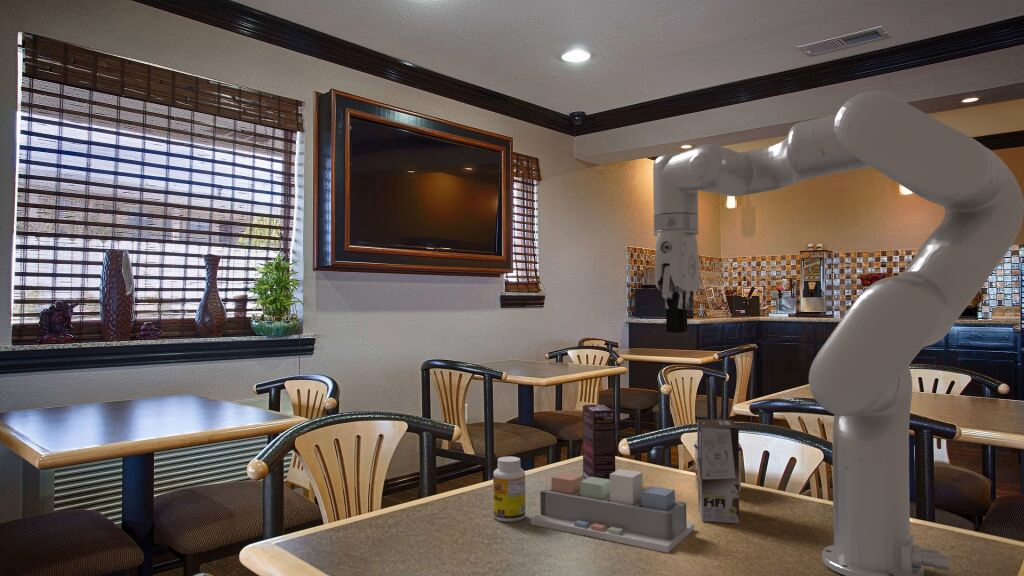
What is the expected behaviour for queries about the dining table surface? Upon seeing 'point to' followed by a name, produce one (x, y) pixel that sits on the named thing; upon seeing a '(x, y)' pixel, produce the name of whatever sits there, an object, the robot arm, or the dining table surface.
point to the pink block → (566, 483)
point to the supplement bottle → (509, 490)
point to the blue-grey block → (658, 498)
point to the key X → (626, 487)
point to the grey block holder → (614, 520)
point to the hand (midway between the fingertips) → (676, 332)
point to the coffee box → (718, 470)
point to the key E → (595, 488)
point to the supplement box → (598, 441)
